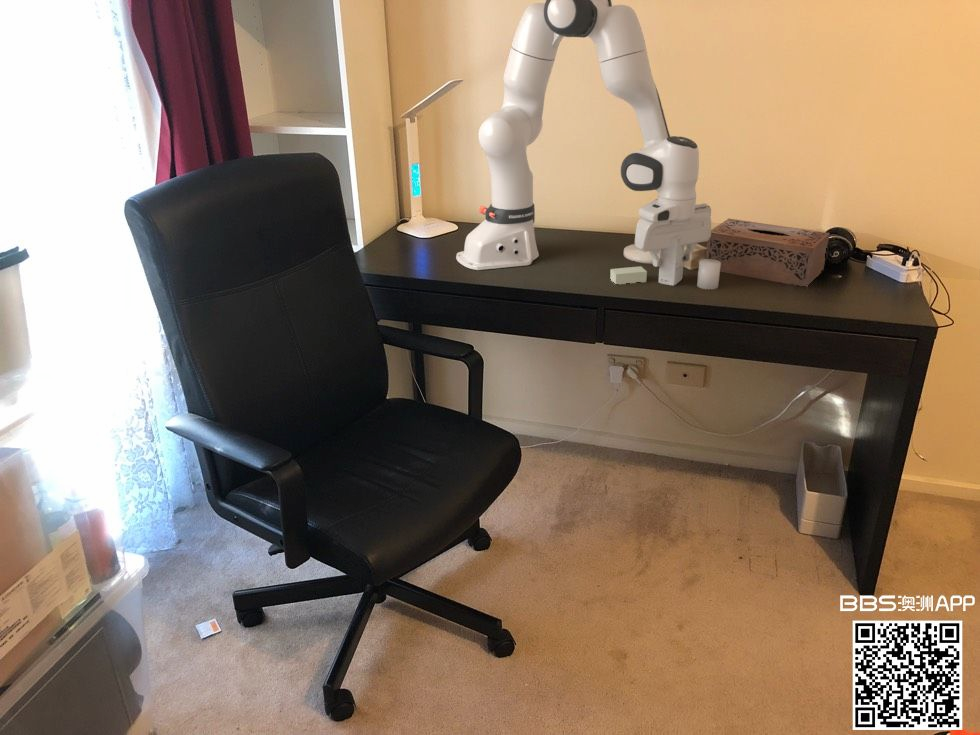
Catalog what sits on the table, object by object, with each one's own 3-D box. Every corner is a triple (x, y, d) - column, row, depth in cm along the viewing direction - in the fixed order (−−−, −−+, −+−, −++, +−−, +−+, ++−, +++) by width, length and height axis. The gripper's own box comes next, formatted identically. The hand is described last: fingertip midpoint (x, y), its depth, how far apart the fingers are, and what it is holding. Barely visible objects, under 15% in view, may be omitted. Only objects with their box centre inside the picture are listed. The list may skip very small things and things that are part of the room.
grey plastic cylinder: (705, 290, 192) (708, 267, 190) (692, 284, 196) (695, 261, 194) (722, 287, 194) (725, 263, 191) (709, 281, 198) (711, 257, 196)
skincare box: (674, 286, 195) (678, 238, 190) (657, 283, 198) (660, 235, 192) (683, 278, 200) (687, 231, 195) (665, 275, 202) (669, 229, 197)
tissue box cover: (823, 271, 204) (829, 233, 199) (807, 288, 193) (813, 248, 189) (724, 254, 217) (728, 218, 213) (704, 269, 207) (708, 232, 202)
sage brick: (615, 285, 197) (616, 274, 196) (610, 280, 201) (610, 269, 200) (646, 282, 199) (647, 271, 197) (640, 277, 202) (641, 266, 201)
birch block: (690, 270, 206) (691, 251, 204) (678, 264, 210) (680, 246, 208) (706, 267, 208) (707, 248, 206) (694, 261, 212) (695, 243, 210)
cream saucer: (642, 266, 209) (642, 262, 208) (613, 251, 220) (613, 247, 220) (686, 258, 214) (687, 254, 213) (656, 244, 225) (656, 240, 225)
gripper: (703, 199, 197) (697, 253, 203) (632, 210, 190) (629, 265, 196) (719, 205, 192) (713, 260, 198) (648, 216, 184) (644, 273, 191)
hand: (671, 263), depth 197 cm, fingers closed on skincare box, 7 cm apart
